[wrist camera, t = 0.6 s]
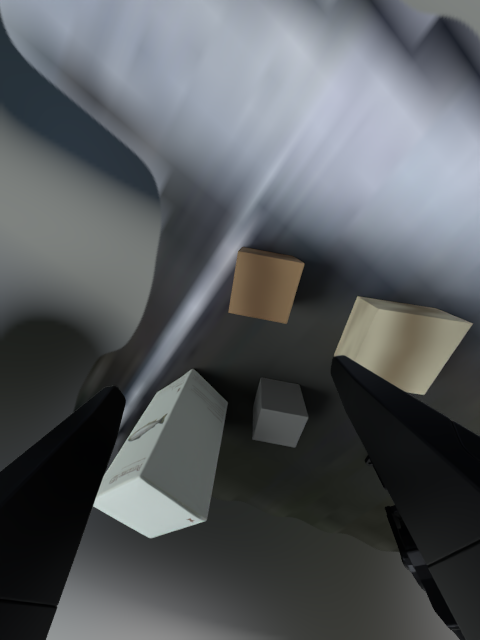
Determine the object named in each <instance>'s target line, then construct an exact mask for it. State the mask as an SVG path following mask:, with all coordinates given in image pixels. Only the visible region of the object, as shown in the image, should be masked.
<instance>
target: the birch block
mask: <svg viewBox="0 0 480 640" xmlns="http://www.w3.org/2000/svg"><path fill="white" fill-rule="evenodd" d="M472 324H473V323H470V322H468V321H466V320H463V319H461V318H458V317H456V316H453V315H451V314H449V313H446V312H444V311H441V310H439V309H437V308H431V307H424V306H418V305H411V304H405V303H398V302H392V301H385V300H379V299H372V298H366V297H359V296H357V299H356V301H355V304H354V306H353V309H352V311H351V314H350V316H349V319H348V321H347V324H346V327H345V329H344V332H343V334H342V337H341V339H340V342H339V344H338V347H337V349H336V352H335V354H334V356H339V355H345V356H347V357H348V358H350V359H352V360H353V361H355V362H357V363H358V364H360V365H362V366H363V367H365V368H367V369H368V370H370V371H372V372H373V373H375V374H377V375H378V376H380V377H382V378H383V379H385V380H387V381H388V382H390V383H391V384H393V385H395V386H396V387H398V388H400V389H401V390H403V391H405V392H409V393H415V394H422V395H424V394H425V393H426V391H427V390H428V388H429V387H430V386H431V384H432V383H433V381H434V380H435V378H436V377H437V375H438V374H439V372H440V371H441V369H442V368H443V367H444V365H445V364H446V362H447V361H448V359H449V358H450V356H451V355H452V353H453V352H454V350H455V349H456V348H457V346H458V345H459V343H460V342H461V340H462V339H463V337H464V336H465V334H466V333H467V331H468V330H469V329H470V327H471V326H472Z"/></svg>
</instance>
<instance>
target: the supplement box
mask: <svg viewBox="0 0 480 640" xmlns="http://www.w3.org/2000/svg"><path fill="white" fill-rule="evenodd" d="M227 405H228V402H227V401H226V400H225V399H224V398H223V397H222V396H221V395H220V394H219V393H218V392H217V391H216V390H215V389H214V388H213V387H212V386H211V385H210V384H209V383H208V382H207V381H206V380H205V379H204V378H203V377H202V376H201V375H200V374H199V373H198V372H196V371H195V370H194V369H191V370H190V371H189V372H188V373H186V374H185V375H183V376H182V377H181V378H179V379H178V380H176V381H175V382H173V383H171V384H170V385H168V386H167V387H165V388H164V389H162V390H160V391H158V392H157V393H156V395H155V396H154V398H153V400H152V401H151V403H150V404H149V406H148V407H147V409H146V410H145V412H144V414H143V415H142V417H141V418H140V420H139V421H138V423H137V425H136V426H135V428H134V429H133V431H132V432H131V434H130V435H129V437H128V439H127V440H126V442H125V443H124V445H123V447H122V448H121V450H120V451H119V453H118V455H117V456H116V458H115V459H114V461H113V463H112V464H111V466H110V467H109V469H108V470H107V472H106V474H105V475H104V477H103V479H102V482H101V485H100V488H99V491H98V493H97V496H96V499H95V502H94V505H93V506H94V507H96V508H97V509H99V510H101V511H103V512H105V513H106V514H108V515H109V516H111V517H113V518H114V519H116V520H118V521H120V522H122V523H124V524H125V525H127V526H129V527H130V528H132V529H134V530H136V531H138V532H139V533H141V534H143V535H145V536H147V537H149V538H154V537H157V536H160V535H163V534H166V533H169V532H172V531H175V530H179V529H182V528H185V527H187V526H191V525H195V524H198V523H201V522H205V521H206V520H207V516H208V510H209V505H210V499H211V494H212V488H213V482H214V477H215V472H216V466H217V460H218V455H219V449H220V444H221V438H222V433H223V427H224V422H225V416H226V411H227Z"/></svg>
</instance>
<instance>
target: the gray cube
mask: <svg viewBox="0 0 480 640" xmlns="http://www.w3.org/2000/svg"><path fill="white" fill-rule="evenodd" d="M307 420H308V414H307V410H306V407H305V403H304V399H303V396H302V392H301V389H300V385H299V384H294V383H289V382H283V381H278V380H273V379H268V378H262V377H261V378H260V382H259V386H258V390H257V393H256V397H255V401H254V404H253V436H252V439H253V440H258V441H263V442H269V443H274V444H279V445H284V446H290V447H296V444H297V442H298V440H299V438H300V435H301V433H302V431H303V429H304V426H305V424H306V422H307Z"/></svg>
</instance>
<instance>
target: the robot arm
mask: <svg viewBox="0 0 480 640" xmlns="http://www.w3.org/2000/svg"><path fill="white" fill-rule="evenodd" d="M331 376H332V378H333V381H334V383H335V386H336V388H337V391H338V393H339V396H340V398H341V401H342V403H343V406H344V408H345V410H346V413H347V415H348V417H349V419H350V421H351V422H352V424H353V426H354V428H355V430H356V432H357V434H358V436H359V438H360V439H361V441H362V443H363V445H364V447H365V449H366V451H367V453H368V457H367V458H366V459H365V462H366V464H367V465H369V466H373V467H374V469H375V471H376V473H377V475H378V477H379V479H380V481H381V483H382V485H383V487H384V489H385V490H387V491H388V493H389V494H390V496H391V498H392V500H393V502H394V504H395V505H394V506H391V507H390V506H387V507H385V510H386V512H387V518H388V520H389V523H390V526H391V529H392V531H393V534H394V537H395V540H396V542H397V545H398V548H399V551H400V555H401V559H402V562H403V564H404V566H405V568H407V569H408V570H409V571H410V572H411V573H412V574H413V576H414V578H415V579H416V581H417V582H418V584H419V585H420V586H421V588H422V589H423V590H424V591H426V593H427V595H428V597H429V600H430V602H431V604H432V607H433V609H434V610H435V612H436V613H437V614H438V616H439V617H440V618H441V619H442V620H443V622H444V623H445V624H446V625H447V626H448V628H450V630H452V631H453V632H454V633H455V634H456V635H457V637H458V638H459V639H460V640H480V436H478V435H476V434H475V433H473V432H471V431H469V430H468V429H466V428H464V427H463V426H461V425H460V424H458V423H456V422H455V421H451V420H450V419H449V418H448V417H446V416H444V415H443V414H441V413H439V412H438V411H436V410H435V409H433V408H431V407H430V406H428V405H426V404H425V403H423V402H421V401H420V400H418V399H416V398H415V397H413V396H411V395H410V394H408V393H406V392H405V391H403V390H401V389H400V388H398V387H396V386H395V385H393V384H391V383H390V382H388V381H387V380H385V379H383V378H382V377H380V376H378V375H377V374H375V373H373V372H372V371H370V370H368V369H367V368H365V367H363V366H362V365H360V364H358V363H357V362H355V361H353V360H352V359H350V358H348V357H347V356H345V355H339V356H334V357H333V359H332V365H331ZM125 403H126V400H125V397H124V395H123V394H122V392H121V391H120V390H119V388H118V387H117V386H109V387H105V388H103V389H102V390H101V391H100V392H98V393H97V394H96V395H95V396H93V397H92V398H91V399H90V400H88V401H87V402H86V403H85V404H83V405H82V406H81V407H80V408H79V409H77V410H76V411H75V412H74V413H72V414H71V415H70V416H69V417H67V418H66V419H65V420H64V421H62V422H61V423H60V424H59V425H58V426H56V427H55V428H54V429H53V430H51V431H50V432H49V433H48V434H46V435H45V436H44V437H43V438H41V439H40V440H39V441H38V442H36V443H35V444H34V445H33V446H31V447H30V448H29V449H28V450H27V451H25V452H24V453H23V454H22V455H21V456H19V457H18V458H17V459H15V460H14V461H13V462H12V463H10V464H9V465H8V466H7V467H5V468H4V469H3V470H2V471H1V472H0V640H46V638H47V634H48V632H49V629H50V626H51V623H52V621H53V618H54V615H55V612H56V609H57V605H58V603H59V600H60V597H61V595H62V592H63V589H64V586H65V583H66V581H67V578H68V575H69V572H70V569H71V566H72V564H73V561H74V558H75V555H76V553H77V550H78V547H79V544H80V541H81V538H82V536H83V533H84V530H85V527H86V524H87V521H88V519H89V515H90V513H91V510H92V507H93V505H94V502H95V499H96V496H97V493H98V491H99V488H100V485H101V482H102V479H103V476H104V474H105V471H106V468H107V465H108V462H109V460H110V456H111V454H112V451H113V448H114V445H115V442H116V439H117V435H118V431H119V427H120V423H121V420H122V416H123V412H124V408H125Z"/></svg>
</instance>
